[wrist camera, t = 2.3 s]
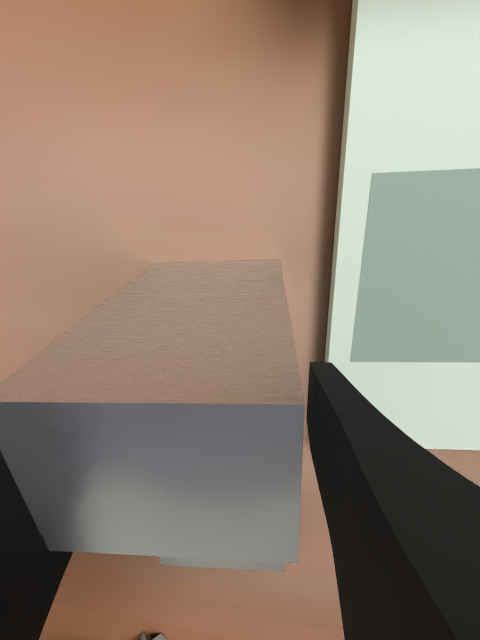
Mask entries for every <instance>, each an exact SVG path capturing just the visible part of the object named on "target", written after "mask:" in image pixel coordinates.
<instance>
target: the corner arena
mask: <svg viewBox="0 0 480 640" xmlns="http://www.w3.org/2000/svg"><path fill="white" fill-rule="evenodd" d="M325 362H332V364H333V365H334V366H335V367H336V368H337V369H338V370H339V371H340V372H341V373H342V374H343V375H344V376H345V377H346V378H347V379H348V380H349V381H350V383H351V384H352V385H353V386H354V387H355V388H356V389H357V390H358V391H359V392H360V393H361V394H362V395H363V396H364V397H365V398H366V399H367V400H368V401H369V402H370V403H371V404H372V405H373V406H375V407H376V408H377V409H378V410H379V411H380V412H381V413H382V414H383V415H384V416H385V417H386V418H388V419H389V420H390V421H391V422H392V423H393V424H395V425H396V426H397V427H398V428H399V429H400V430H402V431H403V432H404V433H405V434H406V435H408V436H409V437H410V438H411V439H413V440H414V441H415V442H416V443H418V444H419V445H420V446H422V447H423V448H424V449H456V450H480V0H353V2H352V15H351V28H350V41H349V54H348V66H347V79H346V92H345V105H344V118H343V131H342V144H341V157H340V170H339V182H338V195H337V208H336V221H335V234H334V247H333V260H332V273H331V286H330V298H329V311H328V324H327V337H326V350H325Z"/></svg>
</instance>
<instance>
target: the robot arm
mask: <svg viewBox="0 0 480 640" xmlns="http://www.w3.org/2000/svg"><path fill="white" fill-rule="evenodd" d="M307 425H308V434H309V442H310V450H311V455H312V459H313V464H314V468H315V473H316V477H317V481H318V486H319V490H320V494H321V499H322V503H323V507H324V512H325V516H326V520H327V525H328V529H329V534H330V539H331V544H332V550H333V557H334V564H335V571H336V578H337V585H338V592H339V599H340V607H341V614H342V622H343V629H344V637H345V640H480V487H479V486H477V485H476V484H474V483H473V482H471V481H470V480H468V479H467V478H465V477H464V476H462V475H461V474H459V473H458V472H456V471H455V470H453V469H452V468H450V467H449V466H448V465H446V464H445V463H443V462H442V461H441V460H439V459H438V458H437V457H435V456H434V455H433V454H431V453H430V452H429V451H427V450H426V449H424V448H423V447H422V446H420V445H419V444H418V443H416V442H415V441H414V440H413V439H411V438H410V437H409V436H408V435H406V434H405V433H404V432H403V431H402V430H400V429H399V428H398V427H397V426H396V425H395V424H393V423H392V422H391V421H390V420H389V419H388V418H386V417H385V416H384V415H383V414H382V413H381V412H380V411H379V410H378V409H377V408H376V407H375V406H373V405H372V404H371V403H370V402H369V401H368V400H367V399H366V398H365V397H364V396H363V395H362V394H361V393H360V392H359V391H358V390H357V389H356V388H355V387H354V386H353V385H352V384H351V383H350V381H349V380H348V379H347V378H346V377H345V376H344V375H343V374H342V373H341V372H340V371H339V370H338V369H337V368H336V367H335V366H334V365H333V364H332V362H310V368H309V386H308V404H307ZM72 553H73V552H66V551H49V550H48V548H47V546H46V544H45V542H44V540H43V538H42V536H41V534H40V532H39V529H38V527H37V525H36V523H35V521H34V519H33V517H32V515H31V513H30V511H29V509H28V507H27V505H26V503H25V501H24V498H23V496H22V494H21V492H20V490H19V488H18V486H17V484H16V482H15V480H14V478H13V476H12V474H11V472H10V469H9V467H8V465H7V463H6V461H5V459H4V457H3V455H2V453H1V451H0V640H39V637H40V635H41V632H42V629H43V626H44V624H45V621H46V618H47V616H48V613H49V611H50V608H51V605H52V603H53V600H54V598H55V595H56V593H57V590H58V587H59V585H60V582H61V580H62V577H63V575H64V572H65V570H66V567H67V565H68V563H69V560H70V558H71V555H72Z"/></svg>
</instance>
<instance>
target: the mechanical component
mask: <svg viewBox="0 0 480 640" xmlns="http://www.w3.org/2000/svg"><path fill="white" fill-rule="evenodd" d="M140 640H146V637H145V633H144V632H143V633H142V635H141V638H140ZM153 640H165V637H164V636H163V635H162V634H159V635H158V636H156V637H155V638H154V639H153Z"/></svg>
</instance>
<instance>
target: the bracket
mask: <svg viewBox="0 0 480 640" xmlns="http://www.w3.org/2000/svg"><path fill="white" fill-rule="evenodd" d="M303 426H304V399H303V393H302V387H301V381H300V375H299V369H298V363H297V357H296V352H295V346H294V340H293V334H292V328H291V322H290V316H289V310H288V304H287V298H286V292H285V286H284V280H283V274H282V268H281V262H280V259H265V260H233V261H201V262H169V263H154V264H152V265H151V266H150V267H148V268H147V269H146V270H145V271H143V272H142V273H141V274H140V275H138V276H137V277H136V278H134V279H133V280H132V281H131V282H129V283H128V284H127V285H125V286H124V287H123V288H122V289H120V290H119V291H118V292H116V293H115V294H114V295H113V296H111V297H110V298H109V299H108V300H106V301H105V302H104V303H102V304H101V305H100V306H99V307H97V308H96V309H95V310H93V311H92V312H91V313H90V314H88V315H87V316H86V317H85V318H83V319H82V320H81V321H79V322H78V323H77V324H76V325H74V326H73V327H72V328H70V329H69V330H68V331H67V332H65V333H64V334H63V335H62V336H60V337H59V338H58V339H56V340H55V341H54V342H53V343H51V344H50V345H49V346H47V347H46V348H45V349H44V350H42V351H41V352H40V353H39V354H37V355H36V356H35V357H33V358H32V359H31V360H30V361H28V362H27V363H26V364H24V365H23V366H22V367H21V368H19V369H18V370H17V371H16V372H14V373H13V374H12V375H10V376H9V377H8V378H7V379H5V380H4V381H3V382H1V383H0V451H1V453H2V455H3V457H4V459H5V461H6V463H7V465H8V467H9V469H10V472H11V474H12V476H13V478H14V480H15V482H16V484H17V486H18V488H19V490H20V492H21V494H22V496H23V498H24V501H25V503H26V505H27V507H28V509H29V511H30V513H31V515H32V517H33V519H34V521H35V523H36V525H37V527H38V529H39V532H40V534H41V536H42V538H43V540H44V542H45V544H46V546H47V548H48V550H49V551H66V552H86V553H105V554H125V555H144V556H158V557H159V561H160V565H168V566H187V567H206V568H224V569H243V570H261V571H280V572H285V563H298V549H299V525H300V500H301V476H302V451H303Z"/></svg>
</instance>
